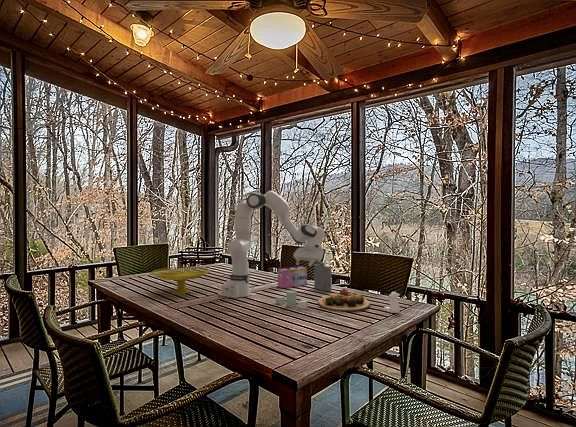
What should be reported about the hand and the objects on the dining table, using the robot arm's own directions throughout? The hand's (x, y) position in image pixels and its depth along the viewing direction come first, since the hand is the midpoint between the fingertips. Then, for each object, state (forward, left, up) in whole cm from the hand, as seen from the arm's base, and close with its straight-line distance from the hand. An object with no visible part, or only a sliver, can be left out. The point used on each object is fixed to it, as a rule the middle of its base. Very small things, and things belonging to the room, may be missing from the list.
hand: (303, 264), depth 226 cm
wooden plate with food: (+26, +2, -24) cm, 35 cm away
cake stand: (-87, -7, -24) cm, 90 cm away
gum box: (-21, +41, -24) cm, 52 cm away
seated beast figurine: (+56, -5, -24) cm, 61 cm away
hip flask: (+4, +36, -24) cm, 43 cm away
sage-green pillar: (-4, -12, -23) cm, 27 cm away
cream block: (+4, -14, -23) cm, 28 cm away
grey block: (-12, -9, -23) cm, 28 cm away
